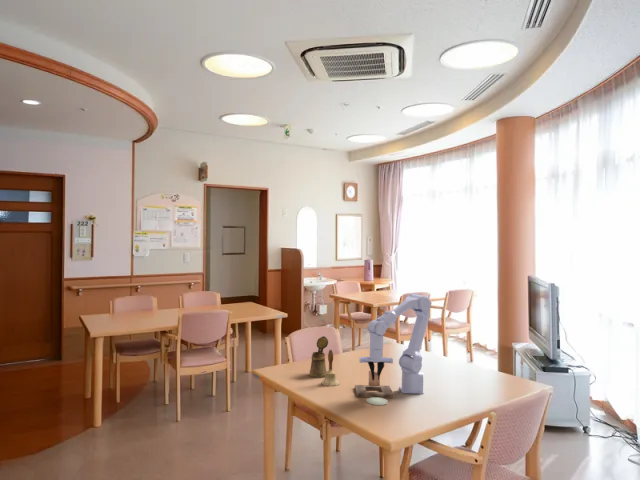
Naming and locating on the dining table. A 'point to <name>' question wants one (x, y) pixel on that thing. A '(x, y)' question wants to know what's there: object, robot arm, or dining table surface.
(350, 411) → the dining table surface
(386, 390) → the walnut stand
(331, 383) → the hand bell
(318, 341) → the wooden mug
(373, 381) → the peach rounded piece
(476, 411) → the dining table surface
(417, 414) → the dining table surface
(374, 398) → the sage mat
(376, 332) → the robot arm
